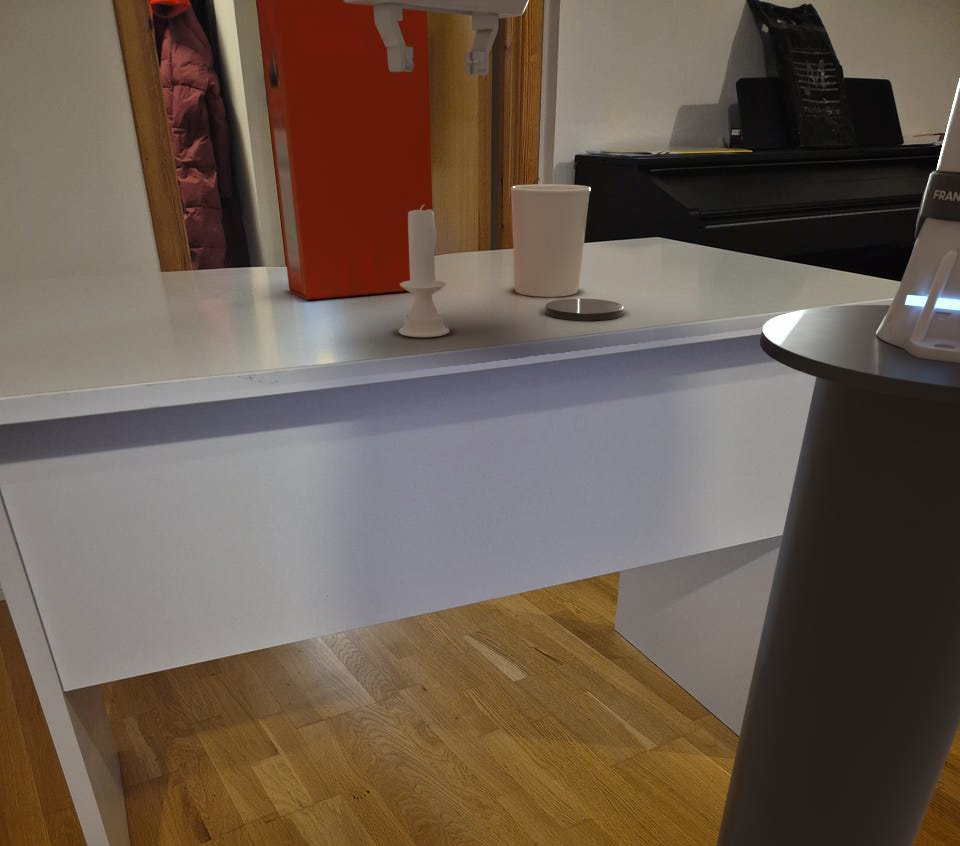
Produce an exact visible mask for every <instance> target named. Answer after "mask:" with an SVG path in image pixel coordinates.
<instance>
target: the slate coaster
mask: <svg viewBox="0 0 960 846" xmlns="http://www.w3.org/2000/svg"><path fill="white" fill-rule="evenodd" d="M544 313H545V314H546V315H548V316H549V317H551V318H555V319H560V320H567V321H568V320H569V321H581V322H596V321H608V320H614V319H618V318H620V317H622V316H623V314H624V306H623V304H621V303H618V302H615V301H613V300H612V301H611V300H607V299H599V298H598V299H597V298H564V299H556V300H552V301H549V302H547V303H545V306H544Z"/></svg>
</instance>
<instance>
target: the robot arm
mask: <svg viewBox="0 0 960 846" xmlns="http://www.w3.org/2000/svg"><path fill="white" fill-rule="evenodd" d="M343 1H344V2H345V3H350V4H360V5H370V6H374V21H375V24H376V27H377V29H378V31H379V33H380V35H381V38H382V40H383V42H384V44H385V46H386V47H387V55H388V68H389V70H390V71H391V72H411V71H412V70H413V67H414V62H413V60H412V58H413V47H408V46H406V44H405V41H404V39H403V36H402V33H401V30H400V27H399V24H398V22H397V21H402V20H403V16H402V9H410V10H420V11H427V12H429V13H430V12H431V13H440V14H451V15H461V16H470V17H471V29H472V31H476V32H475V35H474V41H473V43H472V46H471V50H470V51H465V52H464V62H465V68H464V71H465V74H467V76H486V75H488V74H489V72H490V52H491V50H492V47H493V45H494V42H495V40H496V37H497V34H498V32H499V19H508V18H515V17H521V16H522V15H523V14H524V12H525V10H526V8H527V6H528V4H529V0H343ZM953 99H954V100H953V103H952V107H951V111H950V114H949V119H948V123H947V127H946V129H945V130H946V131H945V135H944V139H943V142H942V145H941V146H942V147H941V150H940V154H939V159H938V162H937V166H936V170H935V169H934V170H933V171H931V172H930V173H929V177H928V180H927V185H926V187H925V189H924V191H923V194H922V197H921V201H920V205H919V209H918V213H917V216H916V217H917V218H916V222H915V231H914V236H913V237H914V238H915V242H914V246H913V249H912V251H911V254H910V257H909V260H908V263H907V265H906V268H905V271H904V272H903V273H904V274H903V276H902V279H901V281H900V283H899V286H898V288H897V290H896V293H895V295H894V298H893V299H892V302H891V304H890V305H891V306H890V308H889V310H888V312H887V314H886V316H885V317H884V319H883V321H882V323H881V325H880V326H879V328H878V330H877V332H876V335H877V336H878V337H879V338H880V339H882V340H884V341H886V342H888V343H890V344H893V345H895V346H898V347H901V348H903V349H905V350H906V351H907V352H908V353H909V354H911V355H912V356H915V357H918V358H923V359H930V360H939V361H947V362H955V363H960V78H959V79H958V84H957V87H956V91H955V95H954V98H953Z"/></svg>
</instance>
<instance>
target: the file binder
mask: <svg viewBox="0 0 960 846" xmlns="http://www.w3.org/2000/svg"><path fill="white" fill-rule="evenodd" d="M255 3H256V12H257V20H258V21H257V22H258V29H259V38H260V47H261V55H262V64H263V65H262V66H263V73H264V83H265V90H266V99H267V100H266V101H267V108H268V117H269V125H270V135H271V144H272V152H273V161H274V169H275V178H276V186H277V195H278V203H279V212H280V220H281V230H282V231H281V232H282V238H283V245H284V246H283V247H284V255H285V263H286V273H287V283H288V290H289V292H290V293H292V294H294V295H296V296H298V297H299V298H302V299H304V300H306V301H312V300H323V299H334V298H335V299H336V298H346V297H347V298H348V297H358V296H369V295H380V294H390V293H399V292H400V293H402V292H408V291H407V290H406V289H404V288H403V287H401V286H400V283H402V282H405V281H410V263H409V237H408V213H409V211H414V210H420V208H421V207H422V205H424V206H423V208H422V210H428V209H430V210H432V211H433V210H434V208H433V206H434V205H433V175H432V173H433V170H432V141H431V140H432V139H431V138H432V137H431V110H430V109H431V105H430V103H431V102H430V74H429V73H430V71H429V69H430V68H429V42H428V41H429V40H428V37H429V36H428V35H429V34H428V11H420V10H410V9H402V16H403V20H402V21H397V22H398V24H399V27H400V30H401V33H402V36H403V39H404V41H405V44H406V46H408V47H413V58H412V60H413V62H414V67H413V70H412V71H411V72H391V71H390V70H389V68H388V55H387V47H386V46H385V44H384V42H383V40H382V38H381V35H380V33H379V31H378V29H377V27H376V24H375V21H374V6H370V5H360V4H350V3H345V2H344V1H343V0H255ZM433 212H434V211H433Z"/></svg>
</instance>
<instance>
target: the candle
mask: <svg viewBox="0 0 960 846" xmlns="http://www.w3.org/2000/svg"><path fill="white" fill-rule="evenodd" d="M423 206H424V205H422V207H421V208H420V210H414V211H409V213H408V237H409V263H410V281H405V282H402V283H400V286H401V287H403V288H404V289H406V290H407V291H406V292H408V293H410V294H412V295H413V296H414V298H413V303H412V305H411V308H410V311H409V313H408V314H407V315H405V317H404V318H405V319H404V324H403V326H402V327H399V329H398V333H399V334H400V335H402V336H405V337H410V338H437V337H442V336H445V335H447V334H450V329H449V328H448V327H447V326H445V324H444V320H443V316H442V315H441V314H440V313H439V312H438V310H437V308H436V306H435V303H434V300H433V296H432V295H435V294H436V293H437V292H438V291H440V290H441V289H443V288H444V287H446V284H447V283H446V282H444V281H441V280H436V264H435V263H436V261H435V257H436V256H435V249H436V248H435V247H436V244H437V240H438V236H437V230H436V222H435V213H434V211H432V210H430V209H428V210H422V208H423Z"/></svg>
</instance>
